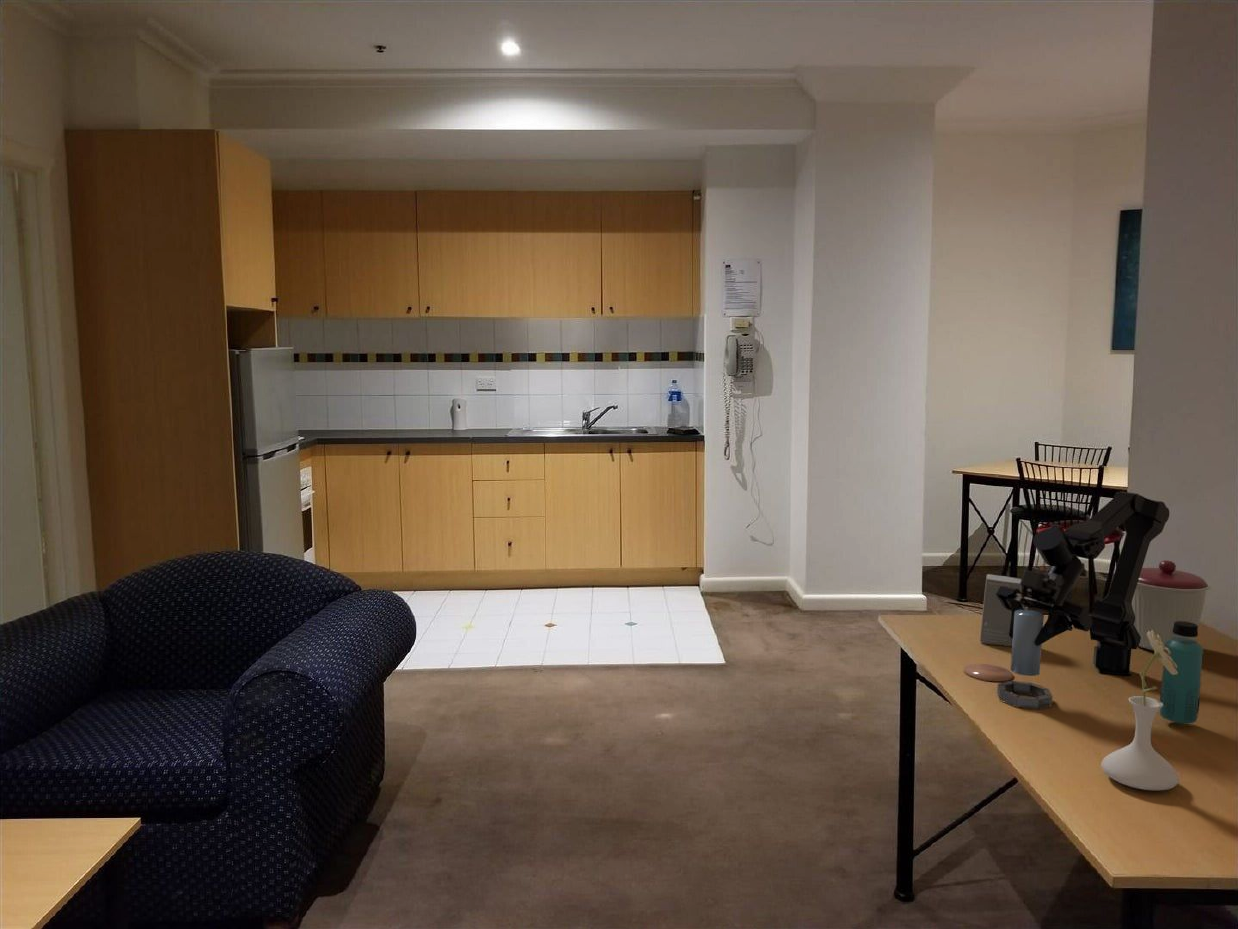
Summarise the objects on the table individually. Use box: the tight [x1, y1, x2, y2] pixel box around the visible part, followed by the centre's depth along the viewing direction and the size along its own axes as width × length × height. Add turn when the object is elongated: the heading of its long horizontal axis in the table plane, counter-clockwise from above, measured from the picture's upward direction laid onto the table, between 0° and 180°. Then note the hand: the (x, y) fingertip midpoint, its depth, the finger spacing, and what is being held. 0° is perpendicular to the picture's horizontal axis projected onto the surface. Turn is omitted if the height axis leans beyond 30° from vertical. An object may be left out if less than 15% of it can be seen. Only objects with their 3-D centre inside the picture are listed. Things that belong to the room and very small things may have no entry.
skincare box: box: [979, 573, 1023, 647], centre depth 232 cm, size 8×7×16 cm
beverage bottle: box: [1159, 621, 1204, 724], centre depth 183 cm, size 6×7×20 cm
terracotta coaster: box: [963, 663, 1014, 682], centre depth 210 cm, size 10×10×1 cm
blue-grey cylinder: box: [1010, 609, 1045, 677], centre depth 194 cm, size 5×5×12 cm
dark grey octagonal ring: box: [996, 680, 1053, 710], centre depth 196 cm, size 10×10×2 cm
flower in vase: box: [1100, 630, 1180, 791], centre depth 159 cm, size 13×11×25 cm
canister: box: [1131, 559, 1211, 652], centre depth 230 cm, size 18×18×21 cm
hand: (1023, 640), depth 194 cm, fingers closed on blue-grey cylinder, 5 cm apart
